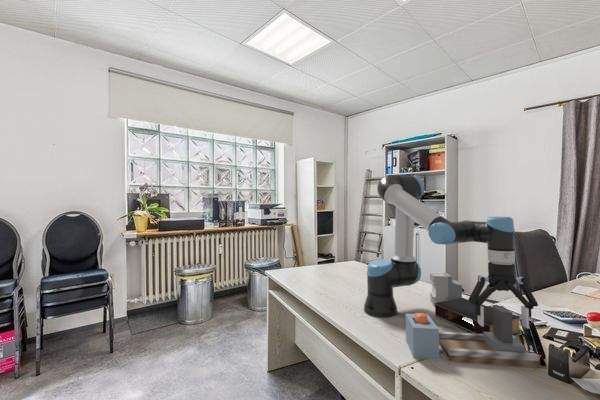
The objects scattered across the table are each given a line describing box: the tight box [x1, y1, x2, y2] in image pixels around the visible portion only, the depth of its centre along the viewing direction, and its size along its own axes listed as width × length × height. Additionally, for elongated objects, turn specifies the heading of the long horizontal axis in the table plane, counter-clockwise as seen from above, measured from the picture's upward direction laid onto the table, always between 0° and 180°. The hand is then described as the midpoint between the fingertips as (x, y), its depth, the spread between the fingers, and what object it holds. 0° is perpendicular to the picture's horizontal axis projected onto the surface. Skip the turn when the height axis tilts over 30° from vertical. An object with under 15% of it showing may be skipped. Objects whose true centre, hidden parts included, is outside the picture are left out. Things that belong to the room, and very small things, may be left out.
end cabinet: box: [405, 313, 440, 360], centre depth 100 cm, size 8×12×10 cm, turn 171°
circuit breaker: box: [429, 271, 465, 307], centre depth 143 cm, size 8×14×15 cm, turn 78°
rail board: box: [439, 331, 541, 369], centre depth 97 cm, size 26×14×4 cm, turn 81°
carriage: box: [483, 305, 526, 353], centre depth 96 cm, size 8×10×13 cm
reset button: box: [414, 312, 428, 324], centre depth 100 cm, size 4×4×4 cm
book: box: [434, 297, 521, 335], centre depth 120 cm, size 17×25×7 cm
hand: (502, 325), depth 96 cm, fingers open, 13 cm apart
